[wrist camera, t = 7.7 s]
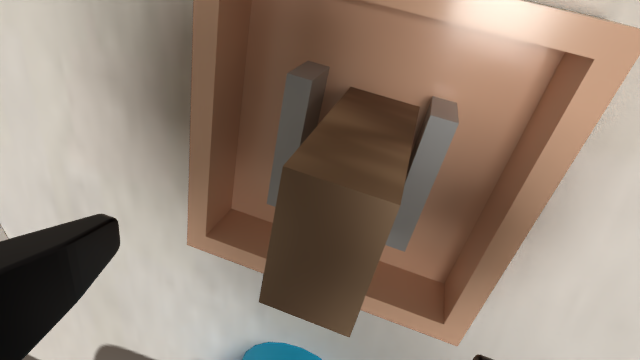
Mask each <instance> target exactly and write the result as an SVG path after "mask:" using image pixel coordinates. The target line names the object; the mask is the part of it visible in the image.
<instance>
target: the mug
mask: <svg viewBox="0 0 640 360" xmlns="http://www.w3.org/2000/svg"><path fill="white" fill-rule="evenodd" d="M242 360H322V359H321V358H319V357H318V356H316V355H314V354H312V353H310V352H308V351H307V350H305V349H303V348H300V347H296V346H293V345H290V344H286V343H275V342H267V343H262V344H258V345H255V346H253V347H252V348H251V349H249V350H248V351H247V352H246V354H245V355H244V357H243V359H242Z"/></svg>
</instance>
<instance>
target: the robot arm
mask: <svg viewBox="0 0 640 360" xmlns="http://www.w3.org/2000/svg"><path fill="white" fill-rule="evenodd" d="M119 246H120V235H119V225H118V221H117V220H116V219H115V218H113V217H110V216H108V215H105V214H97V215H93V216H89V217H86V218H82V219H79V220H75V221H72V222H68V223H64V224H61V225H57V226H54V227H50V228H46V229H43V230H39V231H36V232H32V233H29V234H25V235H21V236H18V237H14V238H11V239H7V240H4V241H0V360H22V359H23V358H24V357H25V356H26V355H27V354H28V353H29V352H30V351H31V350H32V349H33V348H34V347H35V346H36V345H37V344H38V343H39V342H40V340H41V339H42V338H43V337H44V336H45V335H46V334H47V333H48V332H49V331H50V330H51V329H52V328H53V327H54V326H55V325H56V324H57V323H58V322H59V321H60V320H61V319H62V318H63V316H64V315H65V314H66V313H67V312H68V311H69V310H70V309H71V308H72V307H73V306H74V305H75V304H76V303H77V301H78V300H79V299H80V298H81V297H82V296H83V294H84V293H85V292H86V291H87V289H88V288H89V287H90V286H91V284H92V283H93V282H94V280H95V279H96V278H97V277H98V275H99V274H100V273H101V272H102V270H103V269H104V268H105V267H106V265H107V264H108V263H109V262H110V260H111V259H112V258H113V256H114V255H115V254H116V253H117V251H118V249H119ZM473 360H493V359H491V358H488V357H485V356H482V355H476V356H475V357H474V358H473Z"/></svg>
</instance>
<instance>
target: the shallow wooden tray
mask: <svg viewBox="0 0 640 360" xmlns="http://www.w3.org/2000/svg"><path fill="white" fill-rule="evenodd" d="M639 55H640V28H636V27H632V26H628V25H625V24H621V23H617V22H614V21H610V20H606V19H602V18H598V17H594V16H589V15H585V14H581V13H577V12H573V11H568V10H564V9H560V8H556V7H552V6H547V5H543V4H539V3H535V2H531V1H527V0H193V38H192V76H191V115H190V153H189V192H188V231H187V245H189V246H192V247H194V248H197V249H200V250H202V251H205V252H208V253H210V254H213V255H216V256H218V257H221V258H224V259H226V260H229V261H232V262H234V263H237V264H240V265H242V266H245V267H248V268H250V269H253V270H256V271H258V272H261V273H263V274H264V270H265V264H266V258H267V253H268V247H269V241H270V236H271V230H272V224H273V219H274V213H275V207H276V202H277V196H278V190H279V185H280V179H281V173H282V168H283V165H284V164H285V163H286V162H287V161H288V160H289V158H290V157H291V156H292V155H293V154H294V153H295V151H296V150H297V149H298V148H299V147H300V145H301V144H302V143H303V142H304V141H305V140H306V138H307V137H308V136H309V135H310V134H311V133H312V131H313V130H314V129H315V128H316V127H317V126H318V124H319V123H320V122H321V121H322V120H323V119H324V117H325V116H326V115H327V114H328V113H329V112H330V110H331V109H332V108H333V107H334V106H335V105H336V103H337V102H338V101H339V100H340V99H341V98H342V96H343V95H344V94H345V93H346V92H347V91H348V89H349V88H350V87H354V88H357V89H361V90H364V91H367V92H371V93H374V94H378V95H381V96H385V97H388V98H391V99H395V100H398V101H402V102H405V103H408V104H412V105H415V106H419V107H420V108H419V113H418V119H417V124H416V129H415V134H414V139H413V144H412V149H411V154H410V159H409V164H408V170H407V175H406V180H405V185H404V190H403V195H402V200H401V205H400V208H399V211H398V213H397V216H396V218H395V221H394V223H393V226H392V229H391V231H390V234H389V236H388V239H387V242H386V244H385V247H384V249H383V252H382V255H381V257H380V260H379V262H378V265H377V268H376V270H375V273H374V275H373V278H372V280H371V283H370V286H369V288H368V291H367V293H366V296H365V299H364V301H363V304H362V306H361V309H360V310H362V311H365V312H367V313H370V314H373V315H375V316H378V317H381V318H383V319H386V320H388V321H391V322H394V323H396V324H399V325H402V326H404V327H407V328H410V329H412V330H415V331H418V332H420V333H423V334H426V335H428V336H431V337H434V338H436V339H439V340H442V341H444V342H447V343H450V344H452V345H455V346H458V345H459V343H460V342H461V340H462V338H463V337H464V335H465V334H466V332H467V330H468V329H469V327H470V326H471V324H472V322H473V321H474V319H475V318H476V316H477V314H478V313H479V311H480V310H481V308H482V306H483V305H484V303H485V301H486V300H487V298H488V297H489V295H490V293H491V292H492V290H493V289H494V287H495V285H496V284H497V282H498V281H499V279H500V277H501V276H502V274H503V273H504V271H505V269H506V268H507V266H508V265H509V263H510V261H511V260H512V258H513V257H514V255H515V253H516V252H517V250H518V249H519V247H520V245H521V244H522V242H523V241H524V239H525V237H526V236H527V234H528V233H529V231H530V229H531V228H532V226H533V225H534V223H535V221H536V220H537V218H538V217H539V215H540V213H541V212H542V210H543V209H544V207H545V205H546V204H547V202H548V201H549V199H550V197H551V196H552V194H553V193H554V191H555V189H556V188H557V186H558V185H559V183H560V181H561V180H562V178H563V177H564V175H565V173H566V172H567V170H568V169H569V167H570V165H571V164H572V162H573V161H574V159H575V157H576V156H577V154H578V153H579V151H580V149H581V148H582V146H583V145H584V143H585V141H586V140H587V138H588V137H589V135H590V133H591V132H592V130H593V129H594V127H595V125H596V124H597V122H598V121H599V119H600V117H601V116H602V114H603V113H604V111H605V109H606V108H607V106H608V105H609V103H610V101H611V100H612V98H613V97H614V95H615V93H616V92H617V90H618V89H619V87H620V85H621V84H622V82H623V81H624V79H625V77H626V76H627V74H628V73H629V71H630V69H631V68H632V66H633V65H634V63H635V61H636V60H637V58H638V57H639Z"/></svg>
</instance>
